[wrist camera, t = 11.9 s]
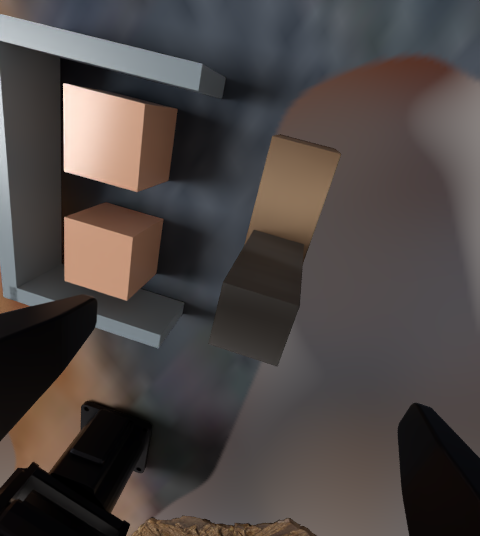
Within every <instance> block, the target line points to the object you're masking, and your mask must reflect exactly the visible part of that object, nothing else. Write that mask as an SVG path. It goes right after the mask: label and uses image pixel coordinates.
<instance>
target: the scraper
mask: <svg viewBox="0 0 480 536" xmlns="http://www.w3.org/2000/svg"><path fill="white" fill-rule="evenodd" d="M340 156H341V153H340V152H338V151H337V150H336V149H334V148H330V147H327V146H322V145H319V144H315V143H311V142H308V141H304V140H300V139H296V138H292V137H289V136H285V135H281V134H280V135H275V136H272V140H271V144H270V148H269V151H268V155H267V159H266V163H265V167H264V171H263V175H262V179H261V183H260V186H259V190H258V194H257V198H256V202H255V206H254V210H253V214H252V218H251V221H250V225H249V229H248V233H247V237H246V241H245V245H244V247H243V249H242V251H241V252H240V254H239V256H238V257H237V259H236V261H235V263H234V264H233V266H232V268H231V270H230V271H229V273H228V275H227V276H226V278H225V280H224V282H223V285H222V289H221V293H220V297H219V301H218V305H217V310H216V314H215V318H214V322H213V326H212V330H211V335H210V339H209V343H208V344H210V345H213V346H216V347H219V348H222V349H225V350H228V351H232V352H235V353H238V354H241V355H244V356H247V357H250V358H253V359H256V360H259V361H262V362H265V363H268V364H271V365H275V366H278V363H279V360H280V358H281V355H282V352H283V350H284V347H285V344H286V342H287V339H288V336H289V334H290V331H291V328H292V325H293V323H294V320H295V317H296V314H297V312H298V309H299V306H300V294H301V280H302V279H301V278H302V266H303V262H304V259H305V256H306V253H307V250H308V248H309V245H310V242H311V239H312V236H313V233H314V230H315V228H316V225H317V222H318V219H319V216H320V213H321V210H322V208H323V205H324V202H325V199H326V196H327V193H328V191H329V188H330V185H331V182H332V179H333V176H334V173H335V171H336V168H337V165H338V162H339V159H340Z"/></svg>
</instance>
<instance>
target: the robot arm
mask: <svg viewBox="0 0 480 536" xmlns="http://www.w3.org/2000/svg"><path fill="white" fill-rule="evenodd" d="M97 306H98V302H97V299H96V298H94V297H91V296H88V295H85V294H80V295H76V296H72V297H68V298H64V299H60V300H55V301H51V302H47V303H43V304H39V305H35V306H30V307H26V308H22V309H18V310H14V311H9V312H5V313H1V314H0V441H1V440H2V439H3V438H4V437H5V435H6V434H7V433H8V432H9V431H10V430H11V429H12V428H13V427H14V425H15V424H16V423H17V422H18V421H19V420H20V419H21V418H22V417H23V416H24V414H25V413H26V412H27V411H28V410H29V409H30V408H31V407H32V406H33V404H34V403H35V402H36V401H37V400H38V399H39V398H40V397H41V396H42V394H43V393H44V392H45V391H46V390H47V389H48V388H49V387H50V386H51V385H52V383H53V382H54V381H55V380H56V379H57V378H58V377H59V376H60V374H61V373H62V372H63V371H64V369H65V368H66V367H67V366H68V364H69V363H70V361H71V360H72V359H73V357H74V356H75V355H76V353H77V352H78V351H79V349H80V348H81V346H82V345H83V344H84V342H85V341H86V340H87V338H88V337H89V335H90V334H91V333H92V331H93V330H94V328H95V326H96V323H97ZM151 433H152V425H151V424H150V423H148V422H145V421H142V420H140V419H137V418H134V417H131V416H128V415H126V414H123V413H120V412H117V411H114V410H112V409H109V408H106V407H103V406H100V405H97V404H95V403H92V402H89V401H86V402H84V404H83V405H82V406H81V431H80V432H79V434H78V435H77V436H76V438H75V439H74V440H73V442H72V443H71V444H70V445H69V447H68V448H67V449H66V451H65V452H64V453H63V455H62V456H61V457H60V459H59V460H58V461H57V462H56V464H55V465H54V466H53V468H52V469H51V470H50V472H49V473H47V472H46V471H44V470H43V469H41V468H40V467H39V465H38V464H36V463H35V462H33V463H32V464H31V465H30V466H29V467H28V468H17V470H16V471H15V472H14V473H13V474H12V475H11V476H10V478H9V479H8V480H7V481H6V482H5V483H4V485H3V486H2V487H1V488H0V536H126V534H127V532H128V529H129V526H130V524H129V523H128V522H126V521H125V520H124V521H122V520H120V519H119V518H117V517H115V516H114V515H112V514H111V512H112V510H113V508H114V506H115V504H116V502H117V500H118V499H119V497H120V495H121V493H122V491H123V489H124V487H125V485H126V483H127V481H128V479H129V478H130V476H131V474H132V472H133V471H135V472H138V473H143V472H144V470H145V468H146V463H147V457H148V451H149V445H150V439H151ZM398 445H399V458H400V459H399V460H400V474H401V487H402V495H403V502H404V507H405V513H406V519H407V525H408V531H409V536H480V458H479V457H478V456H477V455H476V454H475V453H474V452H473V451H472V450H471V449H470V448H469V446H467V444H466V443H465V442H464V441H463V440H462V439H461V438H460V437H459V436H458V435H457V434H456V433H455V432H454V431H453V430H452V429H451V428H450V427H449V426H448V425H447V423H446V422H445V421H444V420H443V419H442V418H441V417H440V416H439V415H438V414H437V413H436V412H435V411H434V410H433V409H432V408H431V407H428V406H425V405H422V404H419V403H413V404H412V405H411V406H410V407H409V409H408V410H407V412H406V414H405V415H404V417H403V418H402V420H401V421H400V423H399V426H398Z"/></svg>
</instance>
